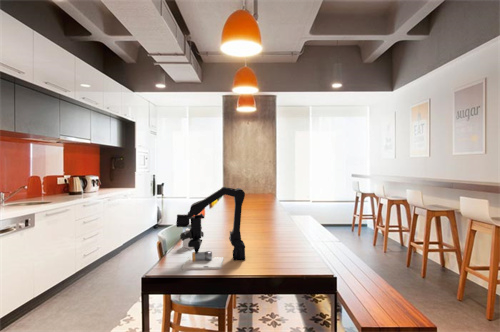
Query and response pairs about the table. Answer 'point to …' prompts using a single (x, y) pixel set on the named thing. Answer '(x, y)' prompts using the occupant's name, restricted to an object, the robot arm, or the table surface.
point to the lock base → (204, 264)
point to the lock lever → (202, 256)
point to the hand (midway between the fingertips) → (196, 253)
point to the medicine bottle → (185, 242)
